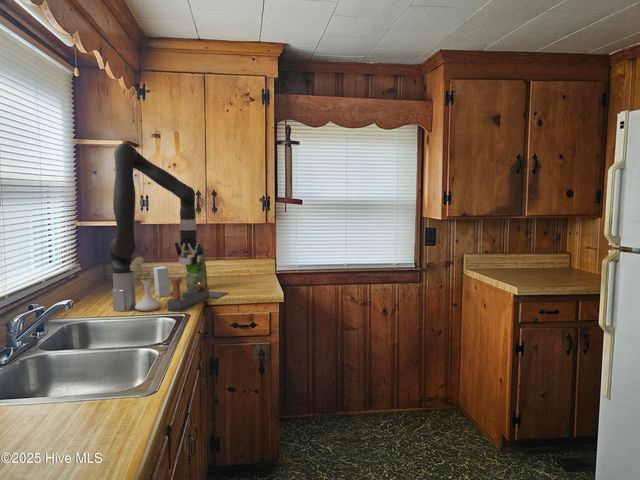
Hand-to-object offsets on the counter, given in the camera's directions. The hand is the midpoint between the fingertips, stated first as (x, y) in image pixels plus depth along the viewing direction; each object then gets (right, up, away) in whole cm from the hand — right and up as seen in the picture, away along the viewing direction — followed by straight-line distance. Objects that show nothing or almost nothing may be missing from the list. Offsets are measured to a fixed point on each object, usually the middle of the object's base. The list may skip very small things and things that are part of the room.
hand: (189, 264), depth 227 cm
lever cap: (0, +1, 0) cm, 1 cm away
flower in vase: (-18, -21, -8) cm, 28 cm away
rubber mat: (+6, -17, +21) cm, 28 cm away
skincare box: (-20, -17, +22) cm, 35 cm away
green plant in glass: (-6, -16, +36) cm, 39 cm away
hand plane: (0, -19, +1) cm, 19 cm away
